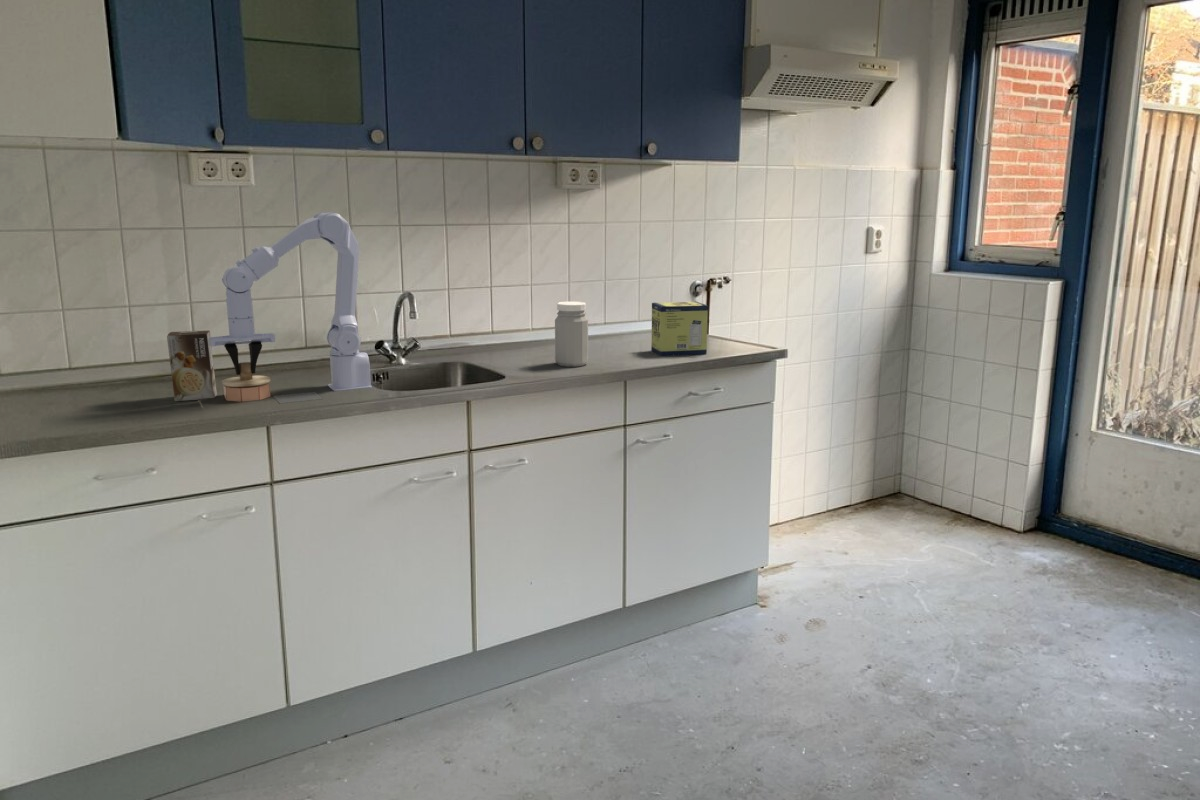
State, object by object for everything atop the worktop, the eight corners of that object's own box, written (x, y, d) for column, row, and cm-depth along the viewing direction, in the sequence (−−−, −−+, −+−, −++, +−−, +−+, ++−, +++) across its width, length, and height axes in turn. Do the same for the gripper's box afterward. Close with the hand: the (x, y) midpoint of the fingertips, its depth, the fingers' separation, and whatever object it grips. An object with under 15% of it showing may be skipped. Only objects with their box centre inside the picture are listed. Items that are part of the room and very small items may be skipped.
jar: (548, 363, 263) (547, 302, 259) (574, 360, 269) (573, 300, 265) (569, 368, 256) (568, 305, 252) (595, 364, 262) (595, 303, 258)
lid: (264, 377, 224) (263, 358, 223) (275, 383, 215) (274, 363, 214) (217, 381, 218) (216, 362, 217) (227, 388, 209) (225, 368, 208)
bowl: (265, 392, 224) (264, 378, 224) (272, 399, 216) (271, 385, 215) (223, 396, 220) (221, 382, 219) (228, 404, 211) (227, 389, 210)
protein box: (650, 350, 286) (651, 302, 282) (696, 349, 289) (697, 301, 286) (659, 356, 276) (660, 306, 273) (707, 354, 279) (709, 304, 276)
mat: (315, 393, 223) (315, 391, 223) (323, 400, 215) (323, 398, 215) (273, 397, 218) (273, 396, 218) (279, 405, 211) (279, 403, 210)
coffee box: (217, 393, 222) (211, 329, 219) (214, 399, 216) (208, 333, 213) (177, 396, 220) (170, 331, 216) (173, 401, 214) (166, 335, 210)
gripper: (209, 321, 207) (215, 379, 210) (275, 317, 213) (279, 373, 216) (206, 317, 213) (211, 374, 216) (270, 314, 219) (274, 368, 222)
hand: (245, 373), depth 216 cm, fingers closed on lid, 3 cm apart
